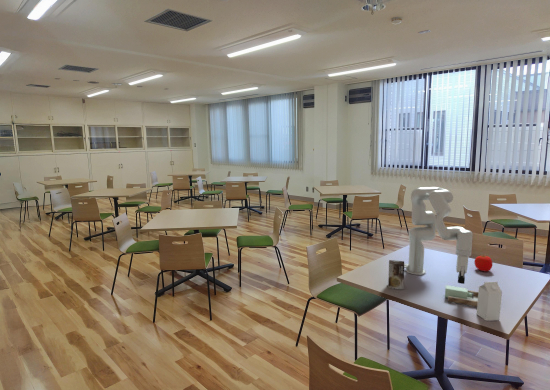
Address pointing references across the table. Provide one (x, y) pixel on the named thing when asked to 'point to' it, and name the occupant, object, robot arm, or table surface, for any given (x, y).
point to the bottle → (457, 292)
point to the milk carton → (489, 301)
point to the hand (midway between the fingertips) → (461, 282)
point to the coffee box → (396, 274)
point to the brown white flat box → (465, 300)
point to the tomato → (483, 263)
